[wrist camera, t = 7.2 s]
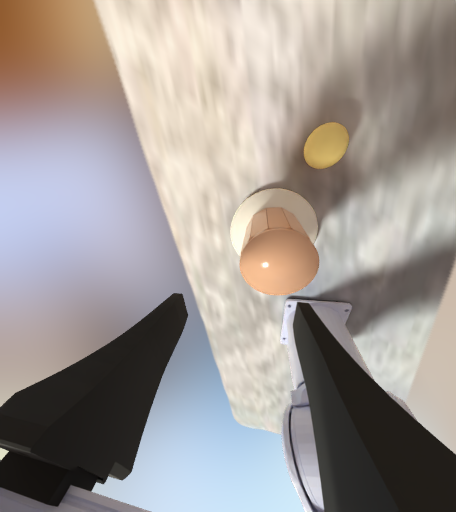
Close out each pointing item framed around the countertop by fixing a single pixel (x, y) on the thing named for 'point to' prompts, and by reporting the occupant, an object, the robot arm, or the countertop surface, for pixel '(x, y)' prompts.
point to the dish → (273, 199)
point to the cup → (277, 253)
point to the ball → (326, 145)
